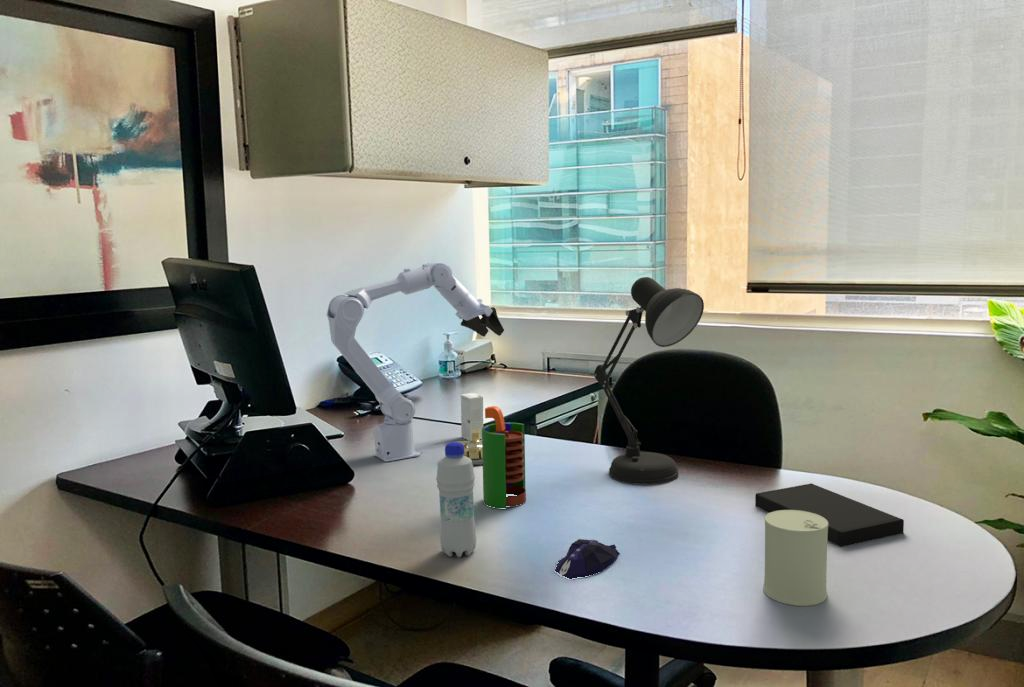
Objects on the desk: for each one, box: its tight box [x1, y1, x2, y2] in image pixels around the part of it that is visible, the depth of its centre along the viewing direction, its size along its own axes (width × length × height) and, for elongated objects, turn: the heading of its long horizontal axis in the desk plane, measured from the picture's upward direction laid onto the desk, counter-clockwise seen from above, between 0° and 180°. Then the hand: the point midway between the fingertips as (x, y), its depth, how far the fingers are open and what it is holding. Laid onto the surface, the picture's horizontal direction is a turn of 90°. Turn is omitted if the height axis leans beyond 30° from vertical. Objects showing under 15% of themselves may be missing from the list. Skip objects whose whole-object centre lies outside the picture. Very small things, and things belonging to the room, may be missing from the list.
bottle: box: [435, 441, 477, 558], centre depth 140 cm, size 7×7×20 cm
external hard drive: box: [754, 482, 905, 548], centre depth 152 cm, size 14×23×3 cm, turn 21°
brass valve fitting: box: [457, 429, 482, 459], centre depth 200 cm, size 11×12×4 cm
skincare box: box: [460, 392, 484, 441], centre depth 219 cm, size 6×4×12 cm
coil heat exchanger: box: [482, 405, 527, 509], centre depth 166 cm, size 10×9×20 cm
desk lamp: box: [593, 276, 705, 485], centre depth 179 cm, size 24×26×45 cm
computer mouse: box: [554, 538, 621, 579], centre depth 136 cm, size 9×15×4 cm, turn 135°
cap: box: [466, 443, 483, 466], centre depth 200 cm, size 13×13×4 cm
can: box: [762, 510, 829, 607], centre depth 121 cm, size 9×9×12 cm
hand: (493, 333), depth 214 cm, fingers open, 7 cm apart
